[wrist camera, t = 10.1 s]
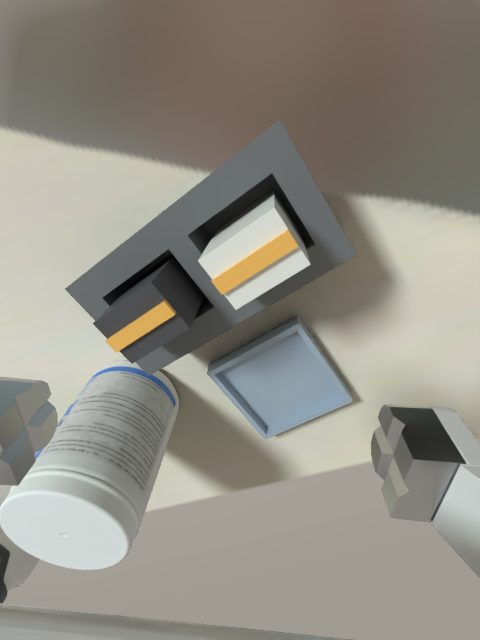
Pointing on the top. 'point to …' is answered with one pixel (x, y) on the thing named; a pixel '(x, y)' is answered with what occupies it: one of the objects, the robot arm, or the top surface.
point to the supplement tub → (95, 471)
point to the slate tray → (280, 379)
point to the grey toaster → (187, 247)
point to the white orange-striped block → (255, 251)
